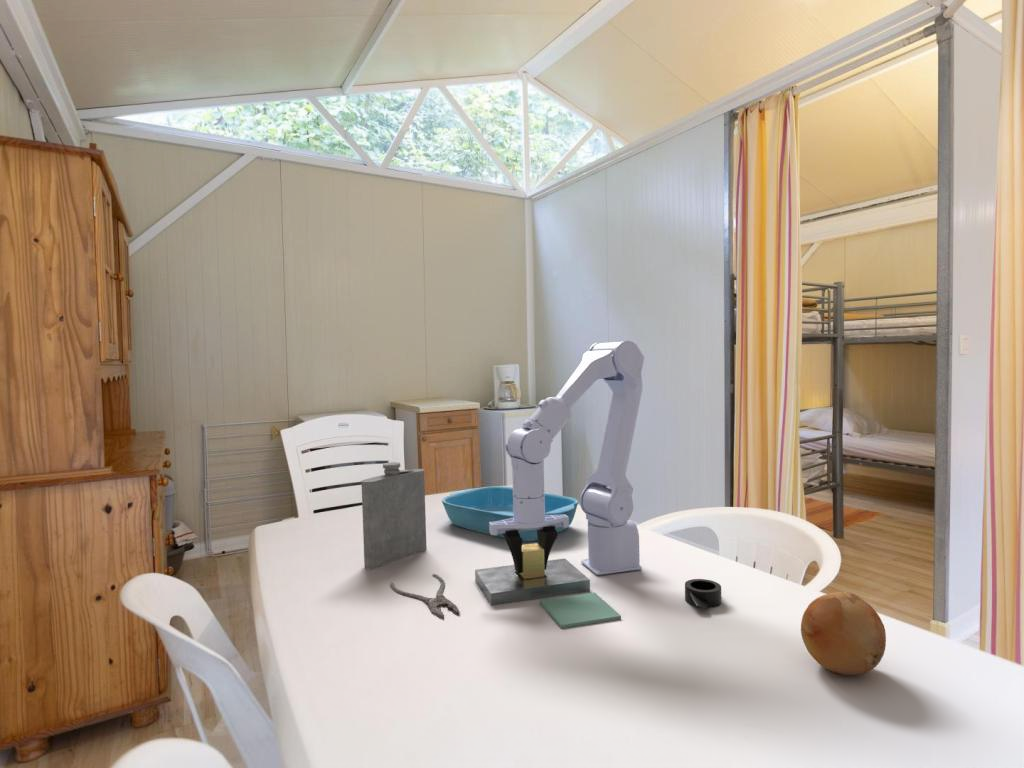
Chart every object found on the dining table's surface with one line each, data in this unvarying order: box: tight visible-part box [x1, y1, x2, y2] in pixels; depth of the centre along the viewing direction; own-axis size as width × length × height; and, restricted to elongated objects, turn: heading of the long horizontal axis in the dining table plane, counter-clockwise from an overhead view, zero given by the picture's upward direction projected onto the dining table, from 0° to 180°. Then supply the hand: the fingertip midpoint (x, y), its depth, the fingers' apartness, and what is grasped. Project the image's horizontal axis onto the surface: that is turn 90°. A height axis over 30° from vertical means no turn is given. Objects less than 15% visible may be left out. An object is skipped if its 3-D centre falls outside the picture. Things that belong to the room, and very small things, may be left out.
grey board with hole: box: [474, 558, 591, 606], centre depth 109 cm, size 18×12×2 cm, turn 106°
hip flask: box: [361, 461, 427, 570], centre depth 126 cm, size 16×4×20 cm, turn 141°
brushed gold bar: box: [517, 542, 545, 581], centre depth 109 cm, size 4×4×7 cm
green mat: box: [539, 592, 622, 629], centre depth 97 cm, size 10×10×1 cm
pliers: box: [390, 573, 461, 620], centre depth 106 cm, size 10×1×20 cm
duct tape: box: [684, 578, 722, 610], centre depth 100 cm, size 8×10×3 cm
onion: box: [800, 591, 887, 676], centre depth 77 cm, size 10×10×10 cm
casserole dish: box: [441, 485, 579, 542], centre depth 148 cm, size 37×22×7 cm, turn 47°
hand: (530, 569), depth 109 cm, fingers closed on brushed gold bar, 4 cm apart
